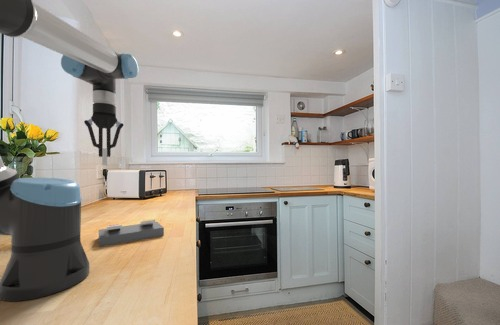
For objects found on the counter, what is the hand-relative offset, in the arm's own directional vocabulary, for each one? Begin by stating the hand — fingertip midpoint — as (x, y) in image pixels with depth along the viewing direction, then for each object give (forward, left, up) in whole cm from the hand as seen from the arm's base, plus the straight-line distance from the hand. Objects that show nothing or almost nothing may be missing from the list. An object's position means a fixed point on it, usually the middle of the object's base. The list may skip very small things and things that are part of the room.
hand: (104, 165), depth 87 cm
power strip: (-10, -8, -26) cm, 29 cm away
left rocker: (-10, -2, -22) cm, 24 cm away
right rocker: (-10, -14, -22) cm, 28 cm away
